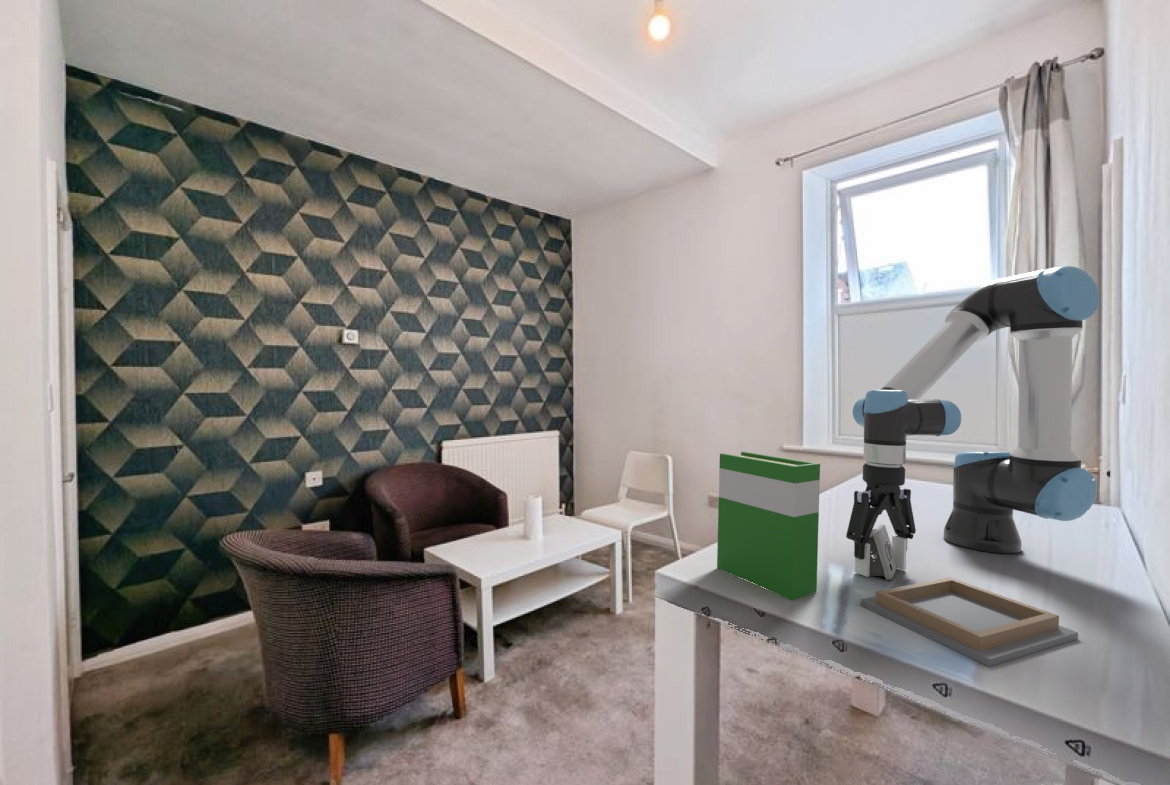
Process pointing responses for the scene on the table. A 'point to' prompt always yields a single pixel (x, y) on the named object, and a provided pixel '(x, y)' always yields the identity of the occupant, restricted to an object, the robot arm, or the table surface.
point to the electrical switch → (881, 554)
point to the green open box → (769, 522)
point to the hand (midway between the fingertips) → (880, 570)
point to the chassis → (971, 619)
